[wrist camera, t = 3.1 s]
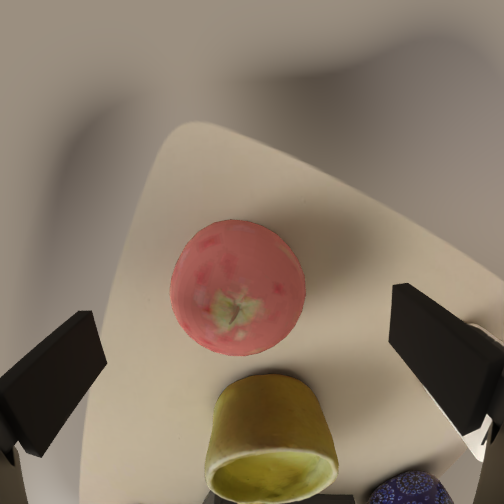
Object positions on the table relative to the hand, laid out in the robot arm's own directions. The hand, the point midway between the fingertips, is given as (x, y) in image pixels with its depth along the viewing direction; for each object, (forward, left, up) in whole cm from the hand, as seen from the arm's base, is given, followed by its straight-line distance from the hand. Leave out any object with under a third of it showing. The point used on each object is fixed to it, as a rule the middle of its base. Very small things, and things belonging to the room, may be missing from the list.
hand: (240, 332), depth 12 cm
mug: (+6, -13, -9) cm, 17 cm away
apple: (0, 0, -9) cm, 9 cm away
